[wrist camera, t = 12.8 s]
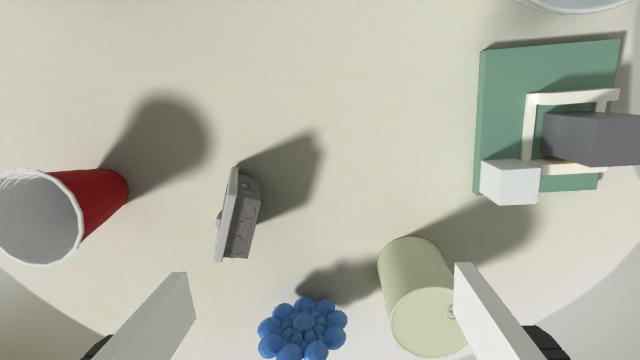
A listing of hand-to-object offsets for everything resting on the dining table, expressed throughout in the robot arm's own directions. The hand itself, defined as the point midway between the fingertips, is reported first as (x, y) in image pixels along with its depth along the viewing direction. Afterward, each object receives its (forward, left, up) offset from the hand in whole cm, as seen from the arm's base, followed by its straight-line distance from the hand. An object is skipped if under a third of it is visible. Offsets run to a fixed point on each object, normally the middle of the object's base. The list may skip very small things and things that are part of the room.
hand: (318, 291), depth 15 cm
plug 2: (-3, +27, -25) cm, 37 cm away
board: (-4, +25, -27) cm, 37 cm away
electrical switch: (+4, -12, -27) cm, 30 cm away
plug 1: (+2, +20, -25) cm, 32 cm away
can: (+15, +10, -27) cm, 32 cm away
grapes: (+21, -5, -27) cm, 34 cm away
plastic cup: (+1, -31, -27) cm, 41 cm away
